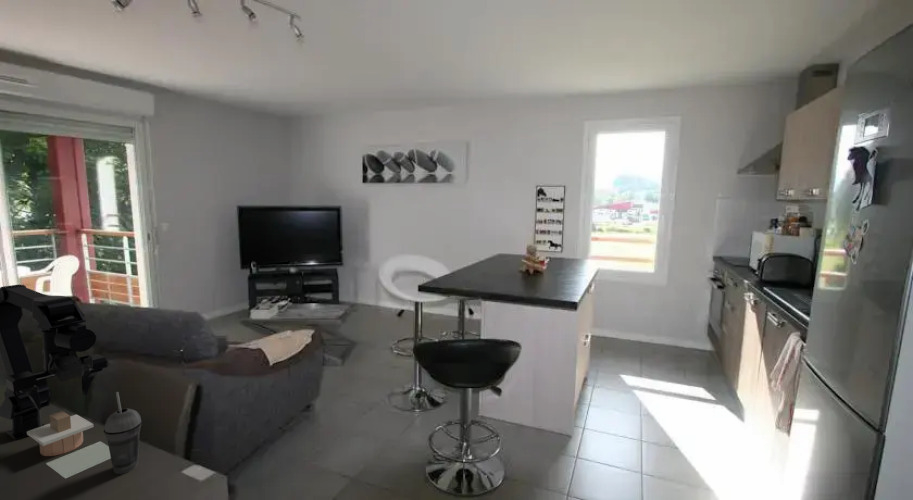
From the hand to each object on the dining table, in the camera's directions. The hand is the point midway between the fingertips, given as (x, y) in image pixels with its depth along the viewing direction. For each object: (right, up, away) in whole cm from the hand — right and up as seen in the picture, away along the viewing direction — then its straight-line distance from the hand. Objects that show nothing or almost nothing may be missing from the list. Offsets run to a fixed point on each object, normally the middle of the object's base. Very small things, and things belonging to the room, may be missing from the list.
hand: (62, 401), depth 108 cm
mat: (+10, -13, -5) cm, 17 cm away
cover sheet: (0, -7, -1) cm, 7 cm away
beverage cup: (+23, -14, -8) cm, 28 cm away
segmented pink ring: (0, -12, 0) cm, 12 cm away
